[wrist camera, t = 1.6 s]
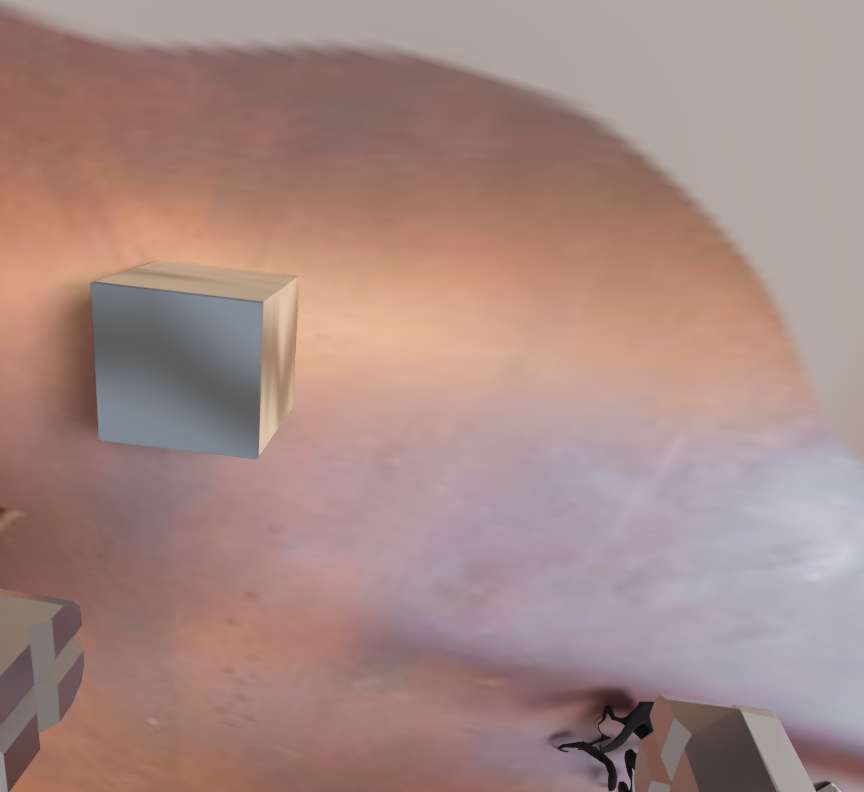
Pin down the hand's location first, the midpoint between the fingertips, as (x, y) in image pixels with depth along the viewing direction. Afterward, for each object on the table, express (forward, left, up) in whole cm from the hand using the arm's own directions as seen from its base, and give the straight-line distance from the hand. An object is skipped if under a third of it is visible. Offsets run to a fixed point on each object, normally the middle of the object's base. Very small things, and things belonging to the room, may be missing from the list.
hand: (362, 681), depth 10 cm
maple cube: (-2, +9, -22) cm, 23 cm away
